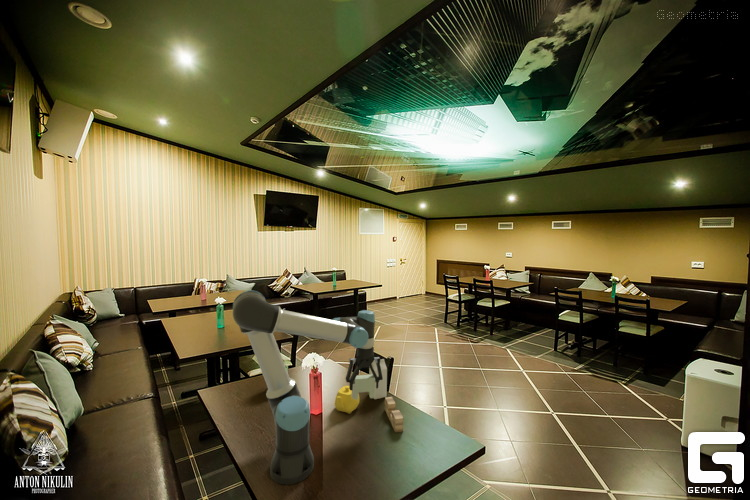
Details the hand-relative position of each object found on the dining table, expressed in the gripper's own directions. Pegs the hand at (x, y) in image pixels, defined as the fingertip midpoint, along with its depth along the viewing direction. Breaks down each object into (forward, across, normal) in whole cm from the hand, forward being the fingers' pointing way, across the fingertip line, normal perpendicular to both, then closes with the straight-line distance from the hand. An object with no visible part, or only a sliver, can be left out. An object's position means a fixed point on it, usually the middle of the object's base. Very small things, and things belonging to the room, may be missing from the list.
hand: (363, 396), depth 134 cm
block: (0, 0, 0) cm, 0 cm away
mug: (+14, +40, -41) cm, 59 cm away
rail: (+13, -15, -1) cm, 19 cm away
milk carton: (+13, -13, -24) cm, 30 cm away
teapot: (+13, +5, -14) cm, 20 cm away
